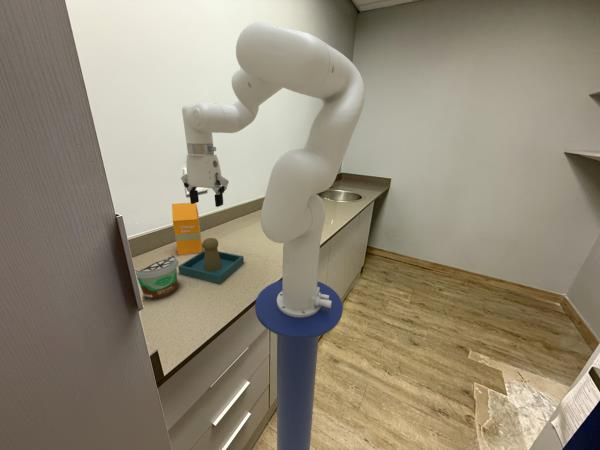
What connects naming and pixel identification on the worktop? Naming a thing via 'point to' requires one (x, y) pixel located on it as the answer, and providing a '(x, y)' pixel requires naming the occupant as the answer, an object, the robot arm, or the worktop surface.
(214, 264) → the olive tapered rounded piece
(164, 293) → the food container
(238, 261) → the tray
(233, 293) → the worktop surface
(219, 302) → the worktop surface
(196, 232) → the orange juice
